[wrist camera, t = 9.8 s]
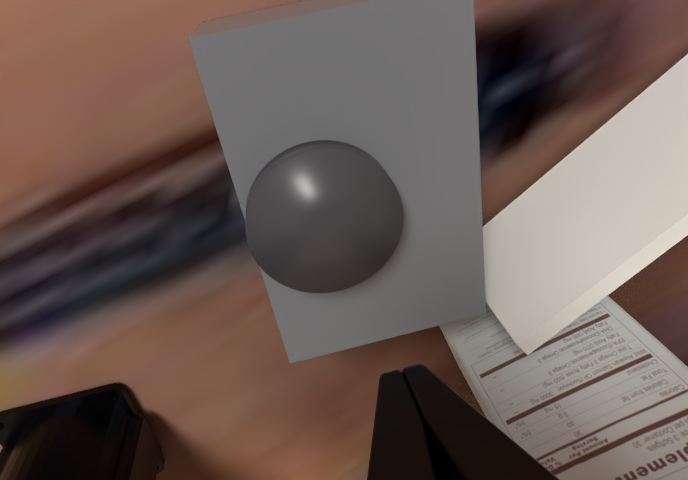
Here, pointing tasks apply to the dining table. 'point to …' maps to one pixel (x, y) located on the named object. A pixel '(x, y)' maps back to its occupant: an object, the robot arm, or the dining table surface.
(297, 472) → the dining table surface
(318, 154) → the camera case
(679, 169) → the side door
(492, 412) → the supplement box
